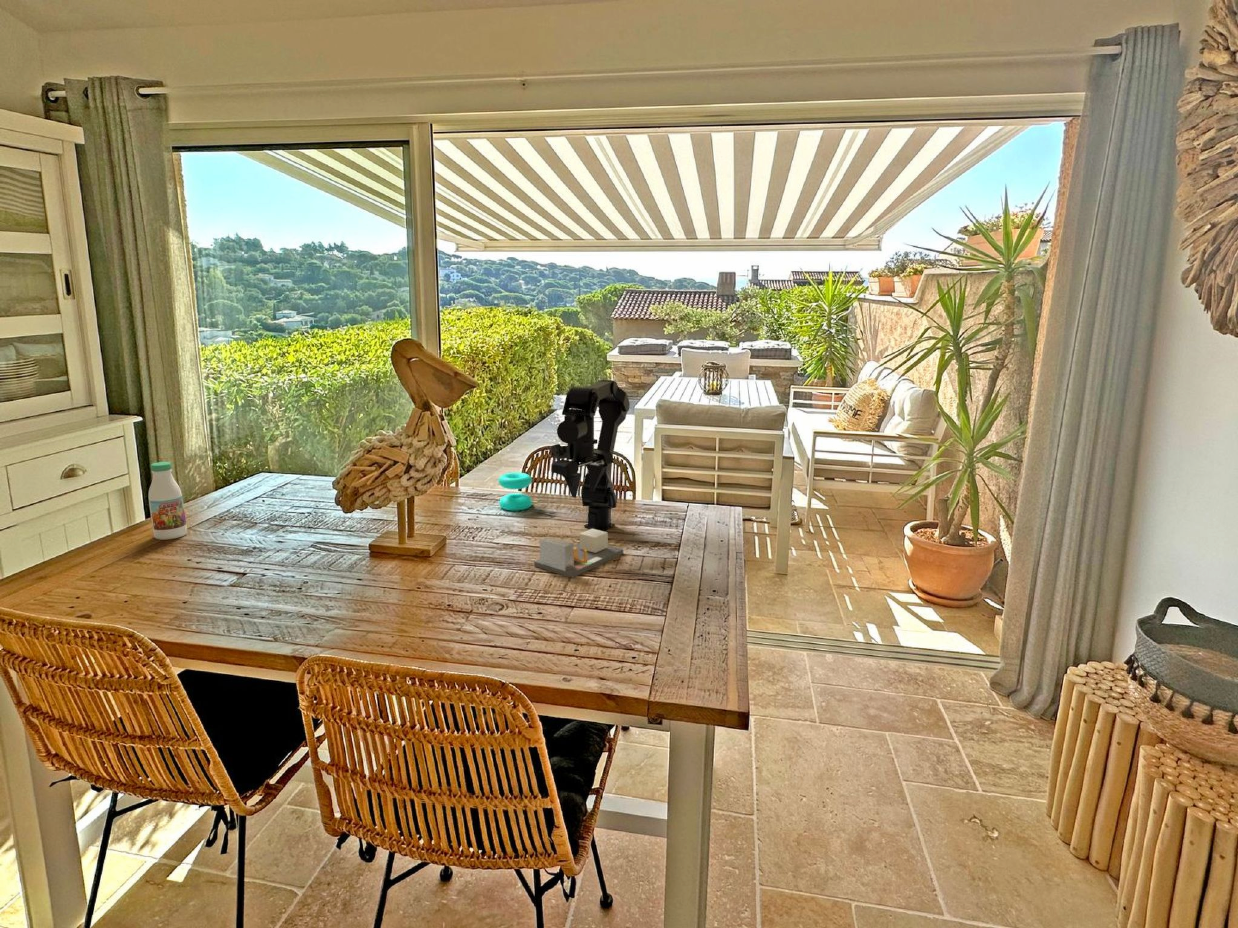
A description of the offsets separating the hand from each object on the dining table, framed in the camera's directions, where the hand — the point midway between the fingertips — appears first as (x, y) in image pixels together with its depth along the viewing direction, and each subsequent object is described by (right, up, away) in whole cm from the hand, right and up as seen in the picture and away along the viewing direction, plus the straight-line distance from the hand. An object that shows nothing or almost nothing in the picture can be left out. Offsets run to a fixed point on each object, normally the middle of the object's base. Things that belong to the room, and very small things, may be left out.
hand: (583, 494), depth 191 cm
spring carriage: (+3, -13, -6) cm, 15 cm away
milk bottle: (-111, -12, +5) cm, 112 cm away
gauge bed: (0, -16, -10) cm, 19 cm away
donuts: (-22, -5, +33) cm, 40 cm away
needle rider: (-1, -15, -15) cm, 21 cm away
